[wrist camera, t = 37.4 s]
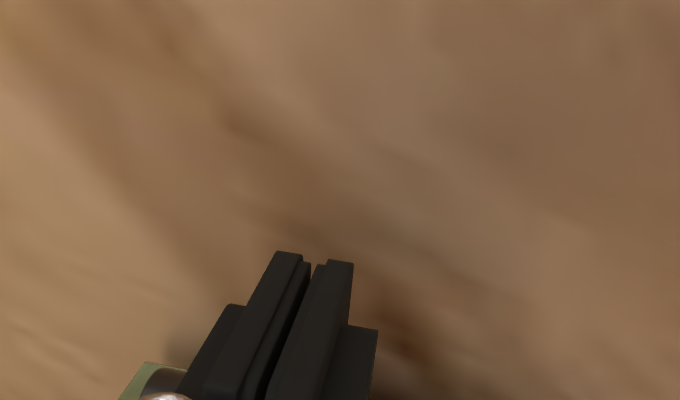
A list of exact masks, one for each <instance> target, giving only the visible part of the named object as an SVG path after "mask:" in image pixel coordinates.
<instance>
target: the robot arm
mask: <svg viewBox="0 0 680 400" xmlns="http://www.w3.org/2000/svg"><path fill="white" fill-rule="evenodd" d="M353 269H354V264H353V263H349V262H343V261H337V260H331V259H328V261H327V263H326V265H321V264H317V266H316V268H315V271H314V273H313V276H312V278H311V281H310V277H311V263H309V262H303V256H302V255H301V254H295V253H289V252H283V251H276V253H275V254H274V256H273V258H272V260H271V261H270V263H269V265H268V267H267V269H266V271H265V272H264V274H263V276H262V278H261V280H260V282H259V283H258V285H257V287H256V289H255V291H254V292H253V294H252V296H251V298H250V300H249V302H248V303H247V305H246V306H241V305H236V304H229V305H227V306H226V308H225V309H224V311H223V312H222V314H221V316H220V317H219V319H218V321H217V322H216V324H215V326H214V327H213V329H212V331H211V332H210V334H209V336H208V337H207V339H206V341H205V342H204V344H203V346H202V347H201V349H200V351H199V352H198V354H197V356H196V357H195V359H194V361H193V362H192V364H191V366H190V367H189V369H188V371H187V372H186V374H185V376H184V377H183V379H182V380H181V382H180V384H179V385H178V387H177V389H176V390H175V392H174V393H172V392H162V393H154V394H151V395H147V396H143V397H141V398H140V399H138V400H368V397H369V391H370V385H371V379H372V372H373V366H374V359H375V352H376V345H377V337H378V330H373V329H368V328H362V327H357V326H351V325H348V317H349V308H350V298H351V288H352V279H353Z"/></svg>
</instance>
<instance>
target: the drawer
mask: <svg viewBox="0 0 680 400" xmlns="http://www.w3.org/2000/svg"><path fill="white" fill-rule="evenodd" d="M187 371H188V370H187V369H182V368H176V367H171V366H166V365H161V364H156V363H151V362H145V363H144V364H143V365H142V367H141V368H140V369H139V371H138V372H137V374H136V375H135V376H134V378H133V379H132V381H131V382H130V383H129V385H128V386H127V388H126V389H125V390H124V392H123V393H122V395H121V396H120V397H119V399H118V400H138V399H140V398H141V397H143V396H147V395H151V394H154V393H162V392H172V393H174V392H175V390H176V389H177V387H178V385H179V384H180V382H181V380H182V379H183V377H184V376H185V374H186V372H187Z"/></svg>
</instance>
